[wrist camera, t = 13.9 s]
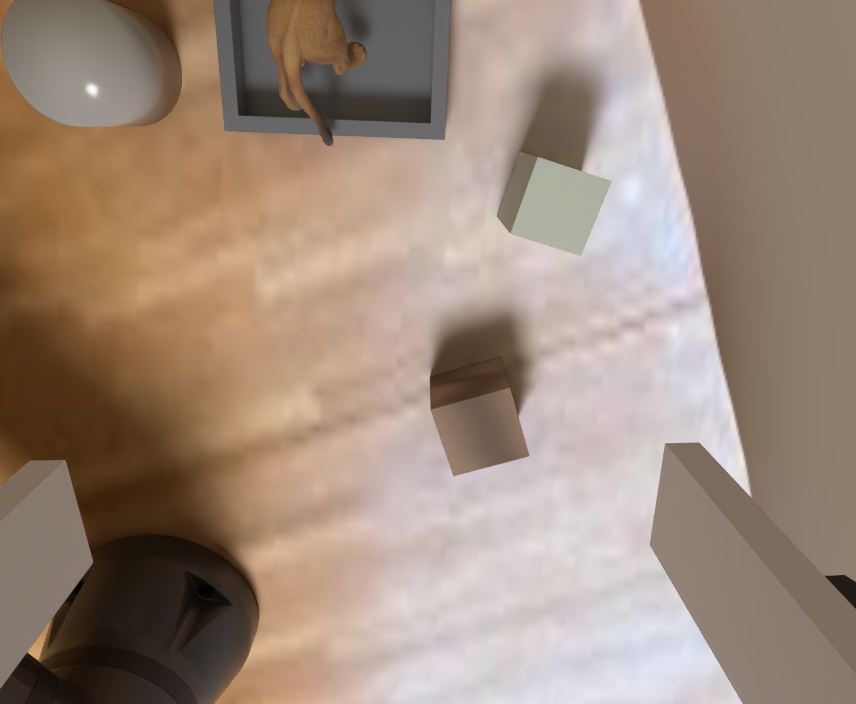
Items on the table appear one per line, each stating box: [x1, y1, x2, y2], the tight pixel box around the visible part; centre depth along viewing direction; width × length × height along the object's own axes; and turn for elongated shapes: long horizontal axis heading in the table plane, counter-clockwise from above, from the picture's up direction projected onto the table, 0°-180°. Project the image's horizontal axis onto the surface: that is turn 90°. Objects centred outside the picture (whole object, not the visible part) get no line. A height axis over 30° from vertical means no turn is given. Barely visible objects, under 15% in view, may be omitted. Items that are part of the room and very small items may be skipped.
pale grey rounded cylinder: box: [1, 0, 182, 127], centre depth 30 cm, size 6×6×6 cm
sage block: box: [497, 151, 611, 256], centre depth 33 cm, size 4×4×6 cm
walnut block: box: [430, 357, 529, 476], centre depth 38 cm, size 5×5×5 cm
